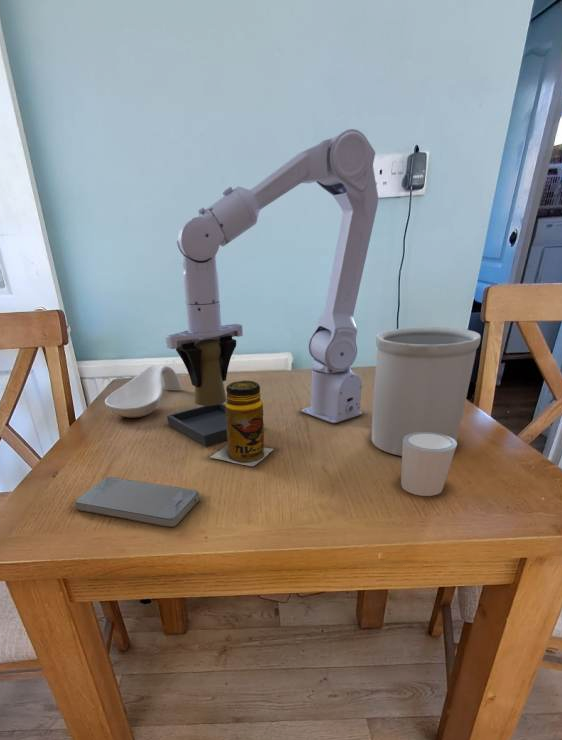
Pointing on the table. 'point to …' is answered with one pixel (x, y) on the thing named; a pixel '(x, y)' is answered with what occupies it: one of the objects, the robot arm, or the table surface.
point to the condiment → (244, 425)
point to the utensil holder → (421, 383)
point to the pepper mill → (210, 375)
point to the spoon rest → (142, 392)
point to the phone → (138, 501)
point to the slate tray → (201, 424)
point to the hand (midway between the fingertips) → (209, 382)
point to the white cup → (426, 462)
